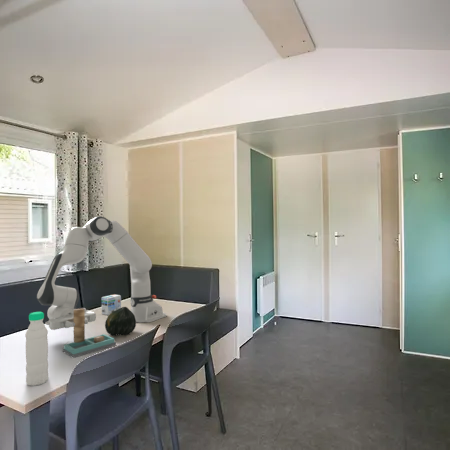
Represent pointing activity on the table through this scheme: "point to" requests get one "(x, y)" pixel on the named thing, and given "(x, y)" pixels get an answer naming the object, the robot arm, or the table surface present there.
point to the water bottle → (36, 350)
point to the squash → (120, 322)
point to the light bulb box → (110, 304)
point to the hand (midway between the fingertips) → (80, 323)
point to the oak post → (79, 325)
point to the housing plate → (88, 345)
